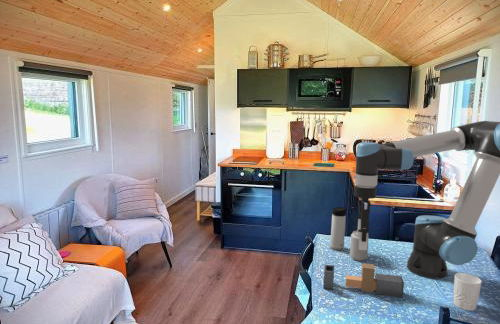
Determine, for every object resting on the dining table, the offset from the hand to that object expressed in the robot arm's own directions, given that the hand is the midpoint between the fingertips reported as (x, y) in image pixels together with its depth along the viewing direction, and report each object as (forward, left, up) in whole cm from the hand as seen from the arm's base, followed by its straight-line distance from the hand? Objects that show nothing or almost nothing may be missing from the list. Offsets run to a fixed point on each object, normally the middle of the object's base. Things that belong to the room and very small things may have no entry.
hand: (361, 242), depth 131 cm
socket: (+11, +1, -18) cm, 21 cm away
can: (-2, -28, -18) cm, 33 cm away
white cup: (-35, +3, -18) cm, 39 cm away
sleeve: (-10, +1, -18) cm, 20 cm away
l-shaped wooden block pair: (-4, +1, -17) cm, 18 cm away
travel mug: (+7, -37, -18) cm, 41 cm away
